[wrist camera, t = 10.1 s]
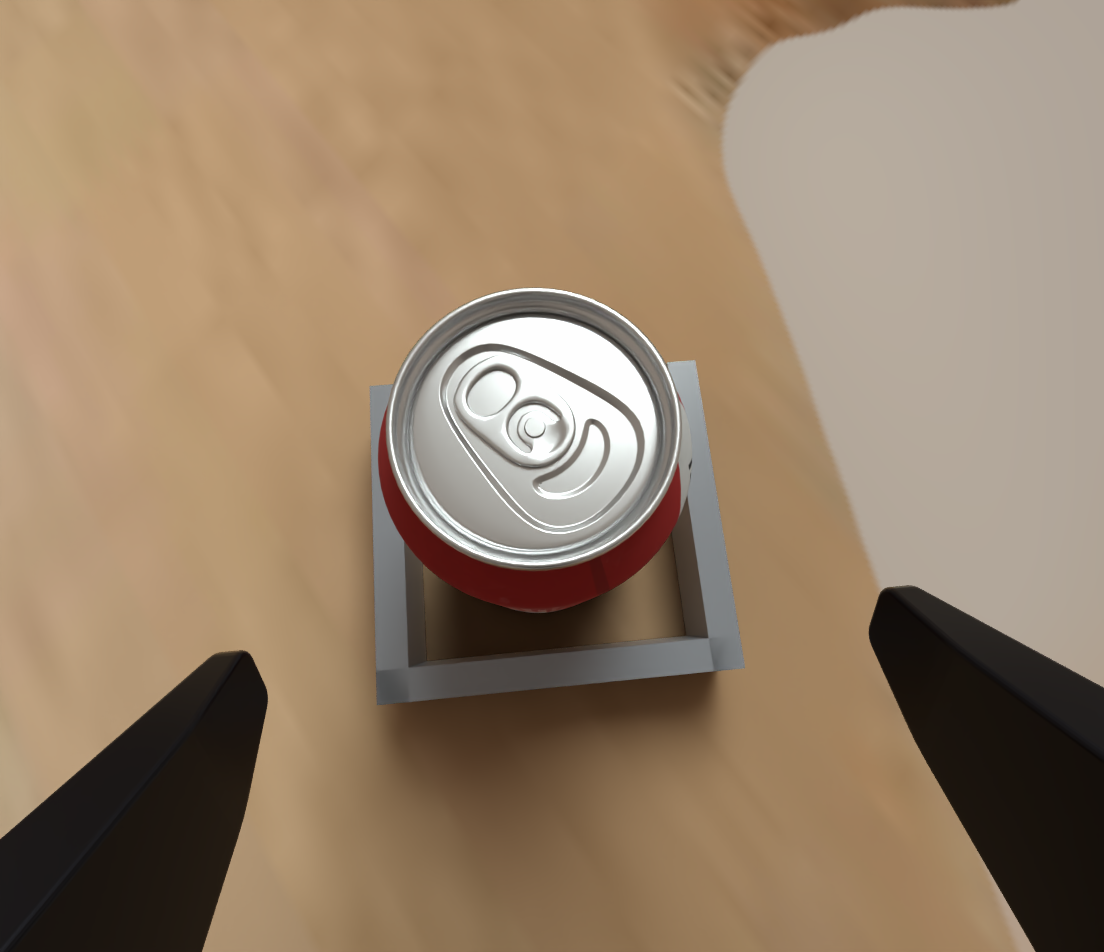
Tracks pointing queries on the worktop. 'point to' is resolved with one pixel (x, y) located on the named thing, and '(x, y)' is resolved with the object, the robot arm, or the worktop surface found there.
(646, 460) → the soda can
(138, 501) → the worktop surface
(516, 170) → the worktop surface
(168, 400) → the worktop surface
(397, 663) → the gray bracket
